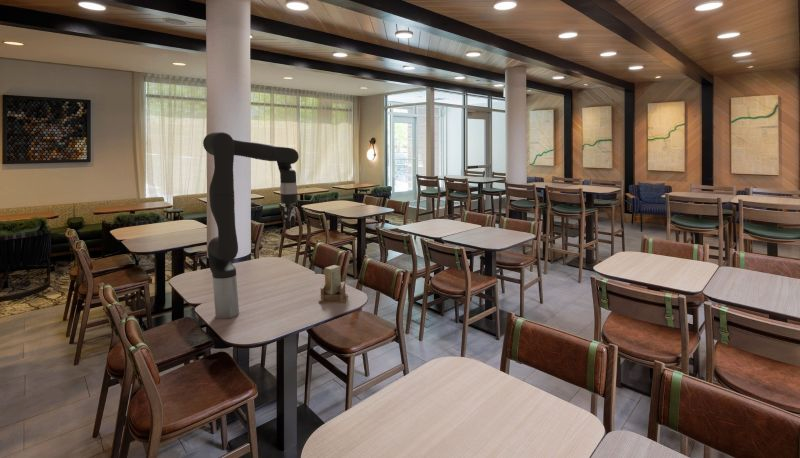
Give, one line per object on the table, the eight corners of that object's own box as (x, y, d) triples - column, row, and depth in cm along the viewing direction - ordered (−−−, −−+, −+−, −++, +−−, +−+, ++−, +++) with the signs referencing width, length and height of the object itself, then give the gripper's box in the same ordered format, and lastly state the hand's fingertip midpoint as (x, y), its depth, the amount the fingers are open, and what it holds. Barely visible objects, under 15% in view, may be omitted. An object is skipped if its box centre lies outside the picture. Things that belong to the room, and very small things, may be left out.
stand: (345, 303, 197) (344, 288, 195) (318, 303, 197) (318, 288, 195) (347, 295, 206) (347, 281, 205) (322, 295, 206) (322, 281, 205)
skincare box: (335, 289, 205) (334, 264, 202) (341, 291, 202) (340, 266, 200) (324, 292, 200) (324, 267, 197) (331, 295, 197) (330, 269, 195)
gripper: (293, 194, 190) (294, 230, 193) (300, 190, 204) (301, 224, 207) (276, 194, 190) (277, 230, 193) (284, 190, 204) (286, 224, 207)
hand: (290, 227), depth 200 cm, fingers open, 8 cm apart
